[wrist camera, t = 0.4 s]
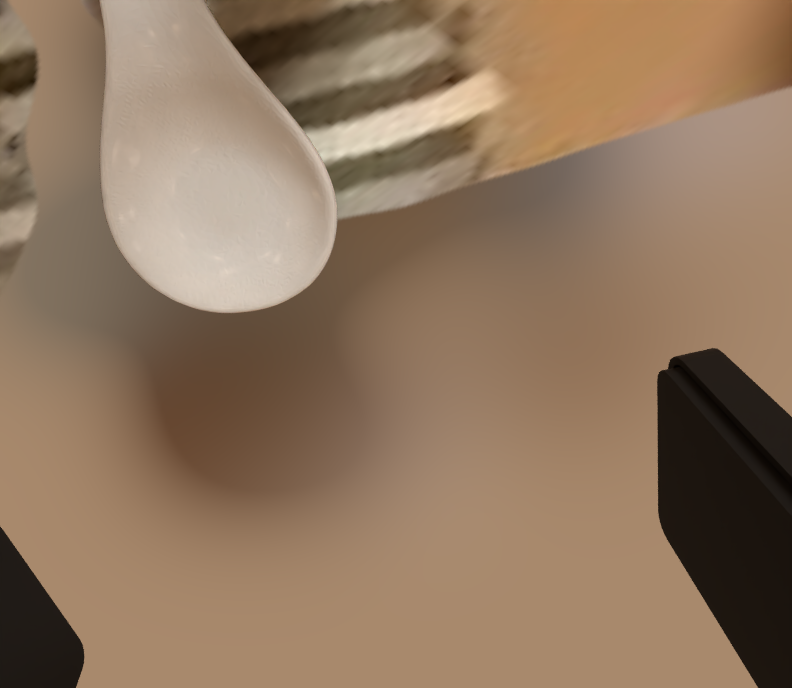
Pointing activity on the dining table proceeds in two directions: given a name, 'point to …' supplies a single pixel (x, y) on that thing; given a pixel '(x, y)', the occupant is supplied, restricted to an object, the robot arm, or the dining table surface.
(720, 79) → the dining table surface
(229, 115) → the spoon rest
